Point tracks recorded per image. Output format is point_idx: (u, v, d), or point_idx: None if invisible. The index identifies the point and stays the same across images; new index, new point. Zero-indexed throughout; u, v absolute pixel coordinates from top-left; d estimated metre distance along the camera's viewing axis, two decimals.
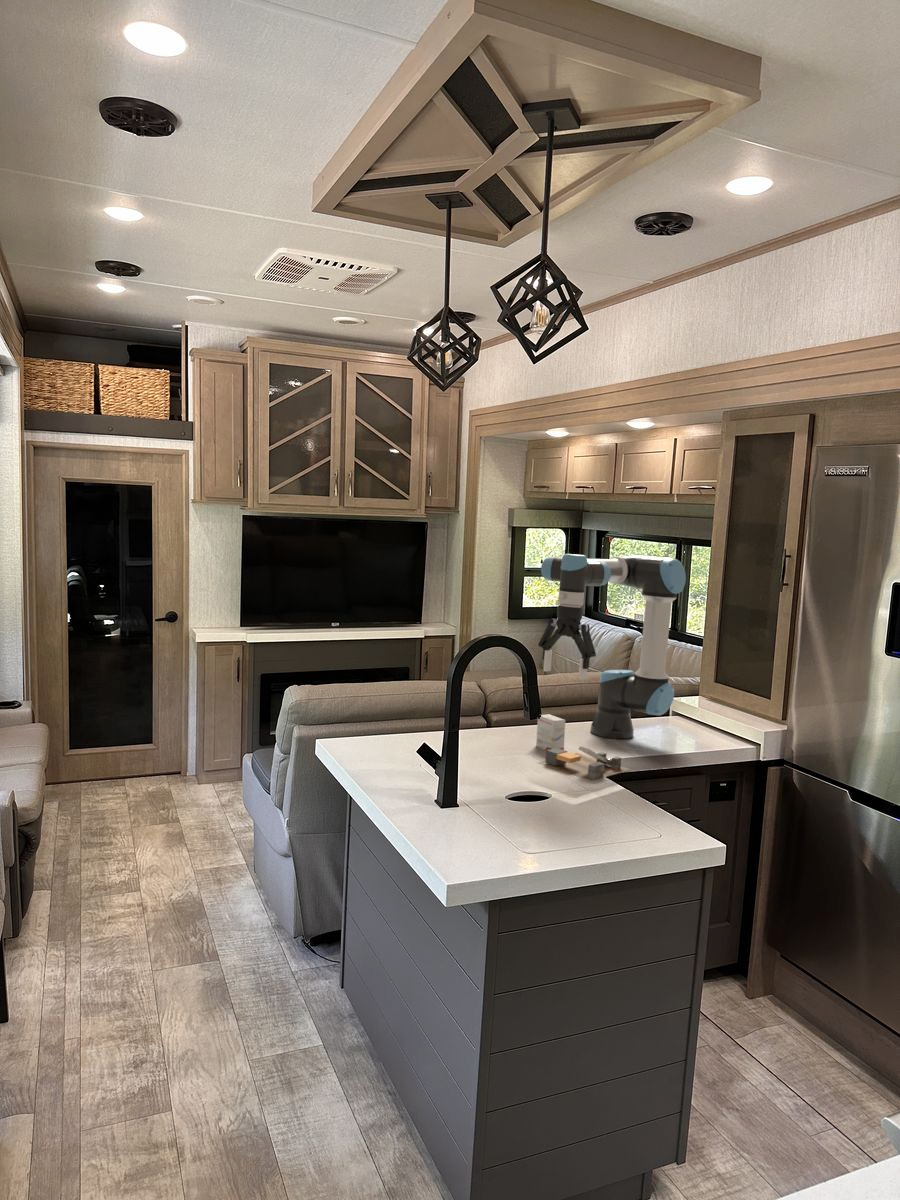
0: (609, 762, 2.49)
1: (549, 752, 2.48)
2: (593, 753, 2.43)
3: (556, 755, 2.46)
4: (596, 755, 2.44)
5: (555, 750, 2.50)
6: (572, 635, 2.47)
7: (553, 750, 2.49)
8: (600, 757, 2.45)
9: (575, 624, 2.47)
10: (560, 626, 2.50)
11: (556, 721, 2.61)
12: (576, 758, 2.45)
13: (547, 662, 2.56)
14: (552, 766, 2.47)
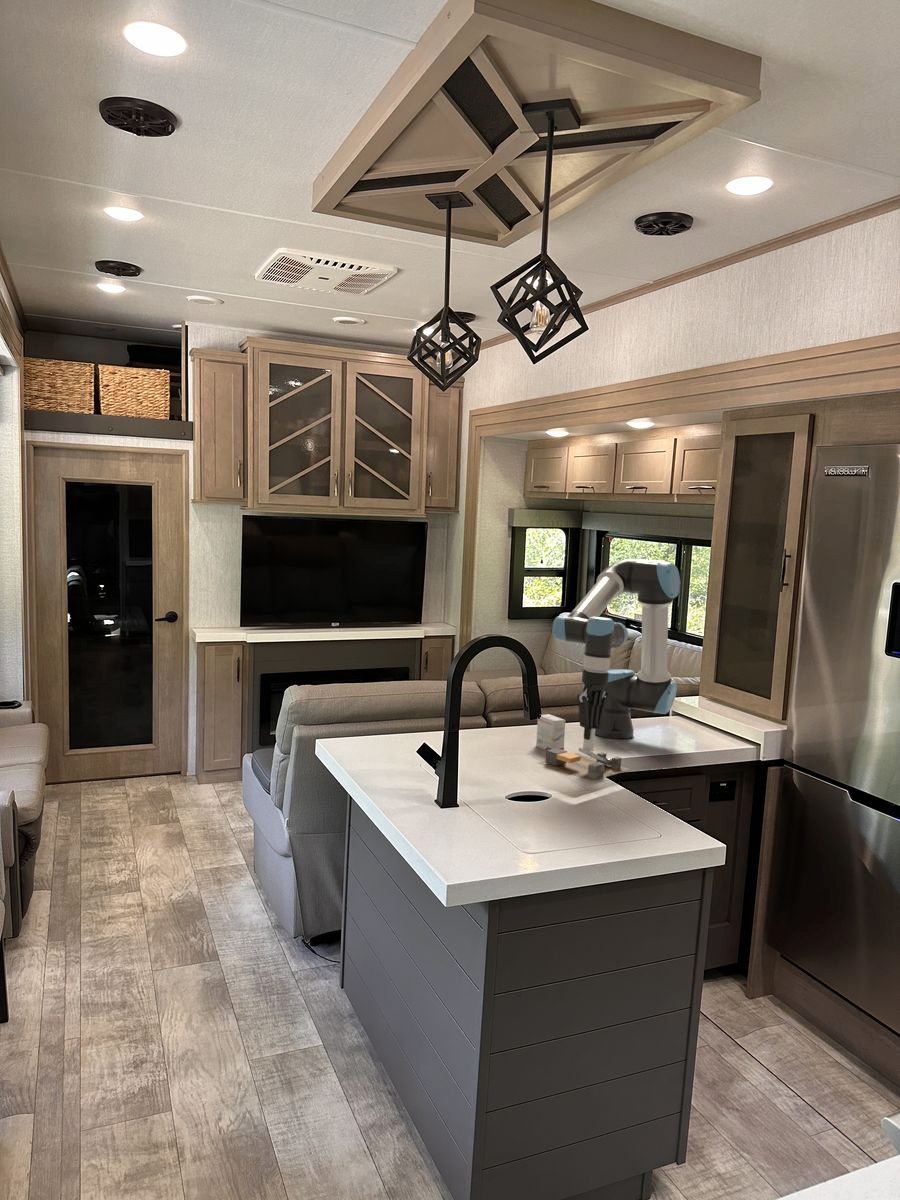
0: (609, 762, 2.49)
1: (549, 752, 2.48)
2: (593, 754, 2.43)
3: (556, 755, 2.46)
4: (596, 756, 2.44)
5: (555, 750, 2.50)
6: None
7: (553, 750, 2.49)
8: (600, 758, 2.45)
9: None
10: None
11: (556, 721, 2.61)
12: (576, 758, 2.45)
13: None
14: (552, 766, 2.47)
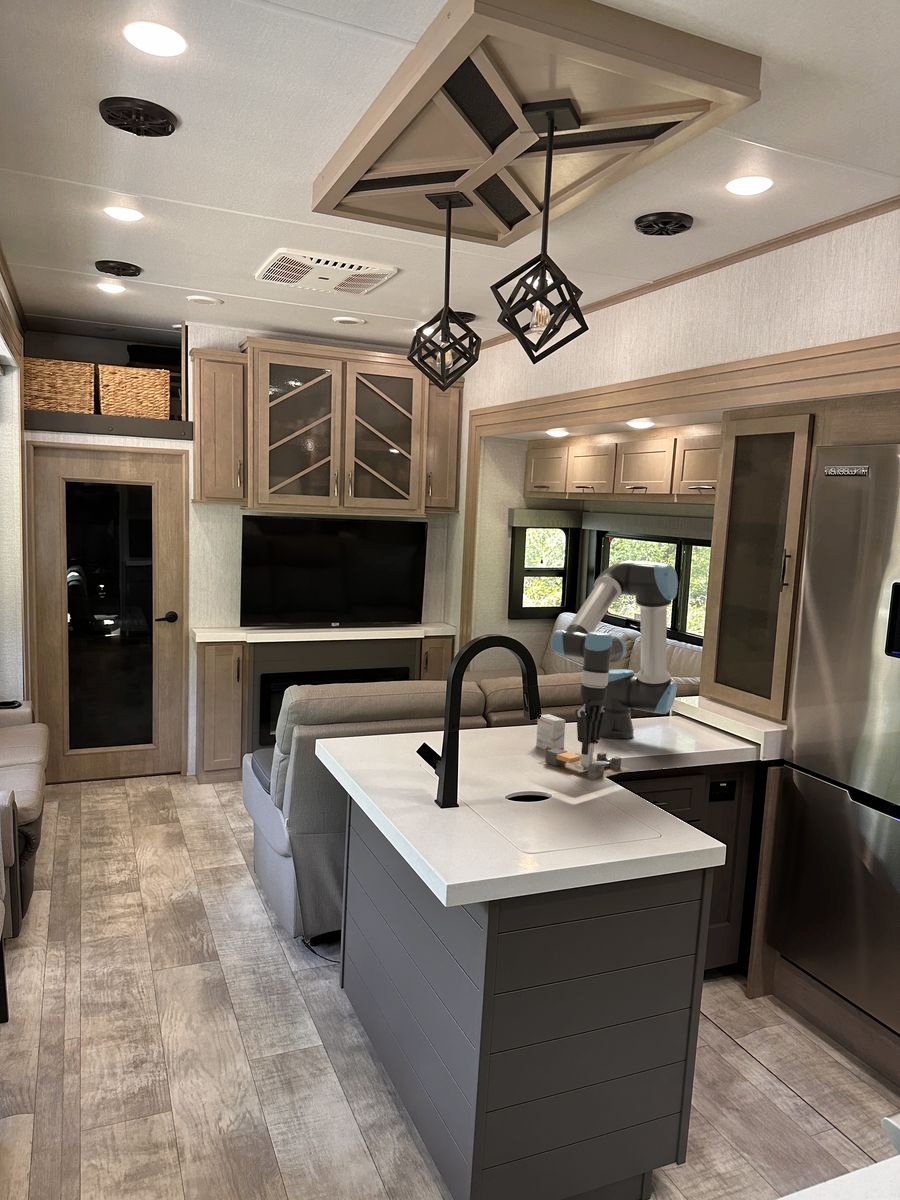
0: (609, 764, 2.49)
1: (549, 752, 2.48)
2: None
3: (556, 755, 2.46)
4: None
5: (555, 750, 2.50)
6: None
7: (553, 750, 2.49)
8: None
9: None
10: None
11: (556, 721, 2.61)
12: (576, 758, 2.45)
13: None
14: (552, 766, 2.47)
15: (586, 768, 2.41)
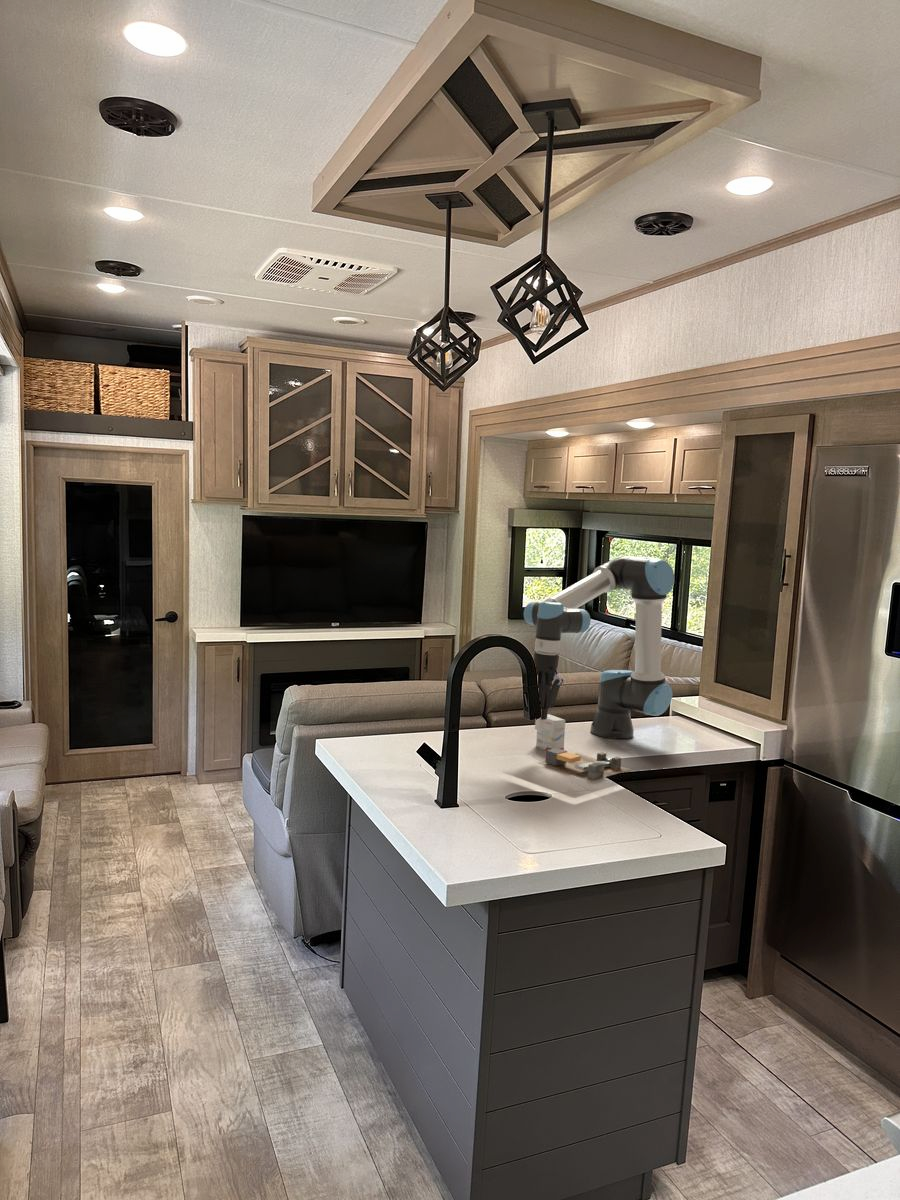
0: (609, 764, 2.49)
1: (549, 752, 2.48)
2: None
3: (556, 755, 2.46)
4: None
5: (555, 750, 2.50)
6: (543, 684, 2.50)
7: (553, 750, 2.49)
8: None
9: (552, 673, 2.49)
10: (537, 674, 2.52)
11: (556, 721, 2.61)
12: (576, 758, 2.45)
13: None
14: (552, 766, 2.47)
15: (586, 768, 2.41)
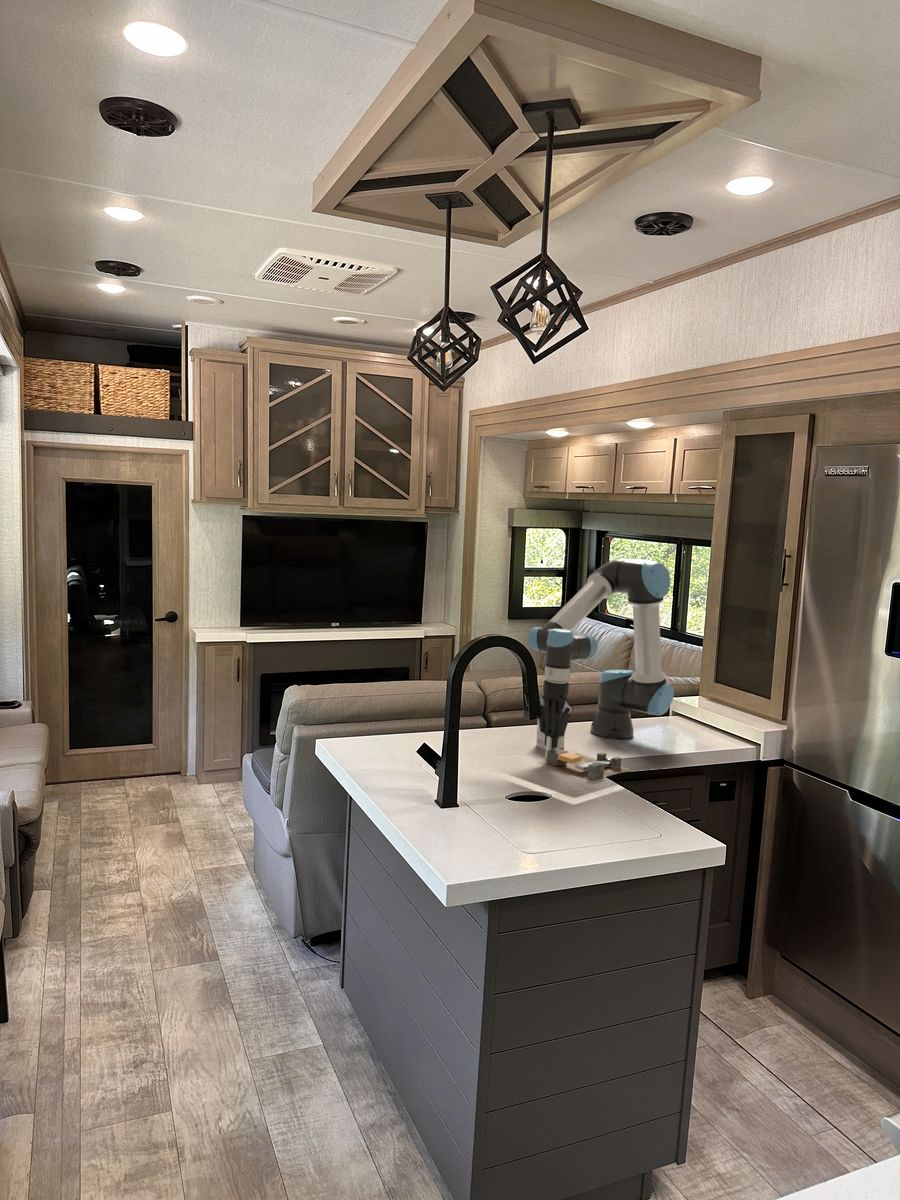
0: (609, 764, 2.49)
1: (550, 752, 2.48)
2: None
3: (557, 755, 2.46)
4: None
5: (556, 750, 2.49)
6: (553, 712, 2.48)
7: (554, 750, 2.49)
8: None
9: (562, 701, 2.46)
10: (546, 702, 2.49)
11: None
12: (577, 758, 2.44)
13: None
14: (552, 766, 2.47)
15: (586, 768, 2.41)
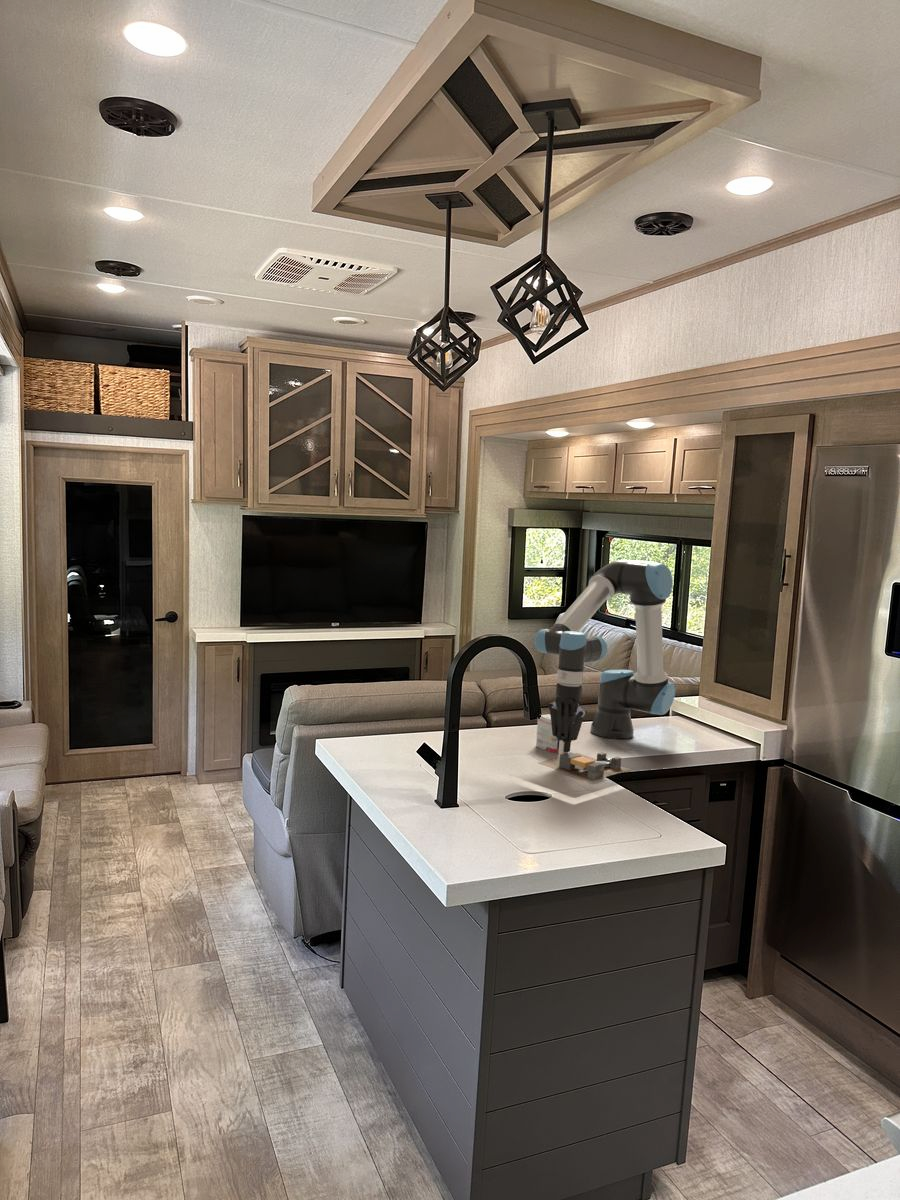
0: (609, 764, 2.49)
1: (563, 756, 2.44)
2: None
3: (570, 759, 2.43)
4: None
5: (569, 754, 2.46)
6: (566, 716, 2.44)
7: (567, 754, 2.46)
8: None
9: (575, 705, 2.43)
10: (559, 705, 2.46)
11: None
12: (590, 763, 2.41)
13: None
14: (552, 766, 2.47)
15: (586, 768, 2.41)
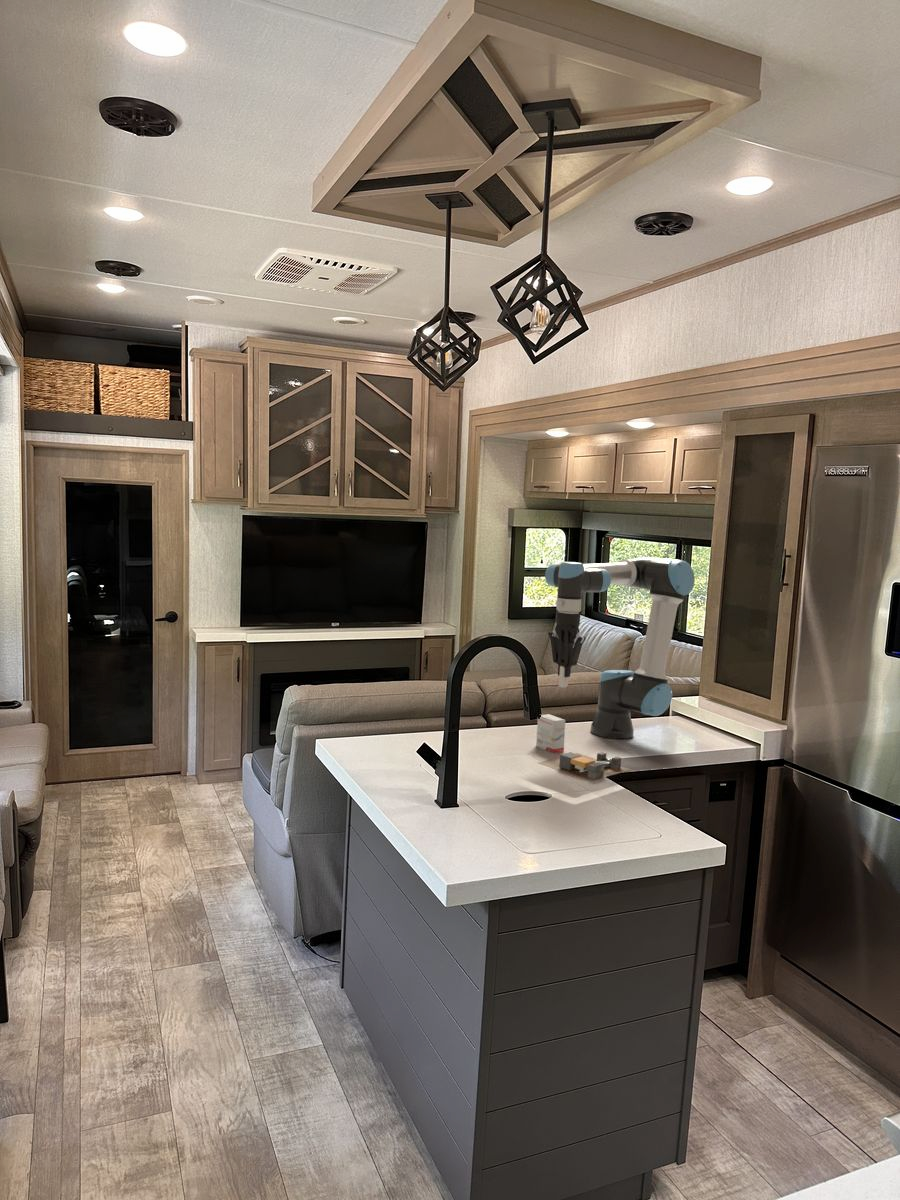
0: (609, 764, 2.49)
1: (563, 756, 2.44)
2: None
3: (570, 759, 2.43)
4: None
5: (569, 754, 2.46)
6: (566, 642, 2.56)
7: (567, 754, 2.46)
8: None
9: (574, 631, 2.54)
10: (559, 632, 2.57)
11: (556, 721, 2.61)
12: (590, 763, 2.41)
13: None
14: (552, 766, 2.47)
15: (586, 768, 2.41)
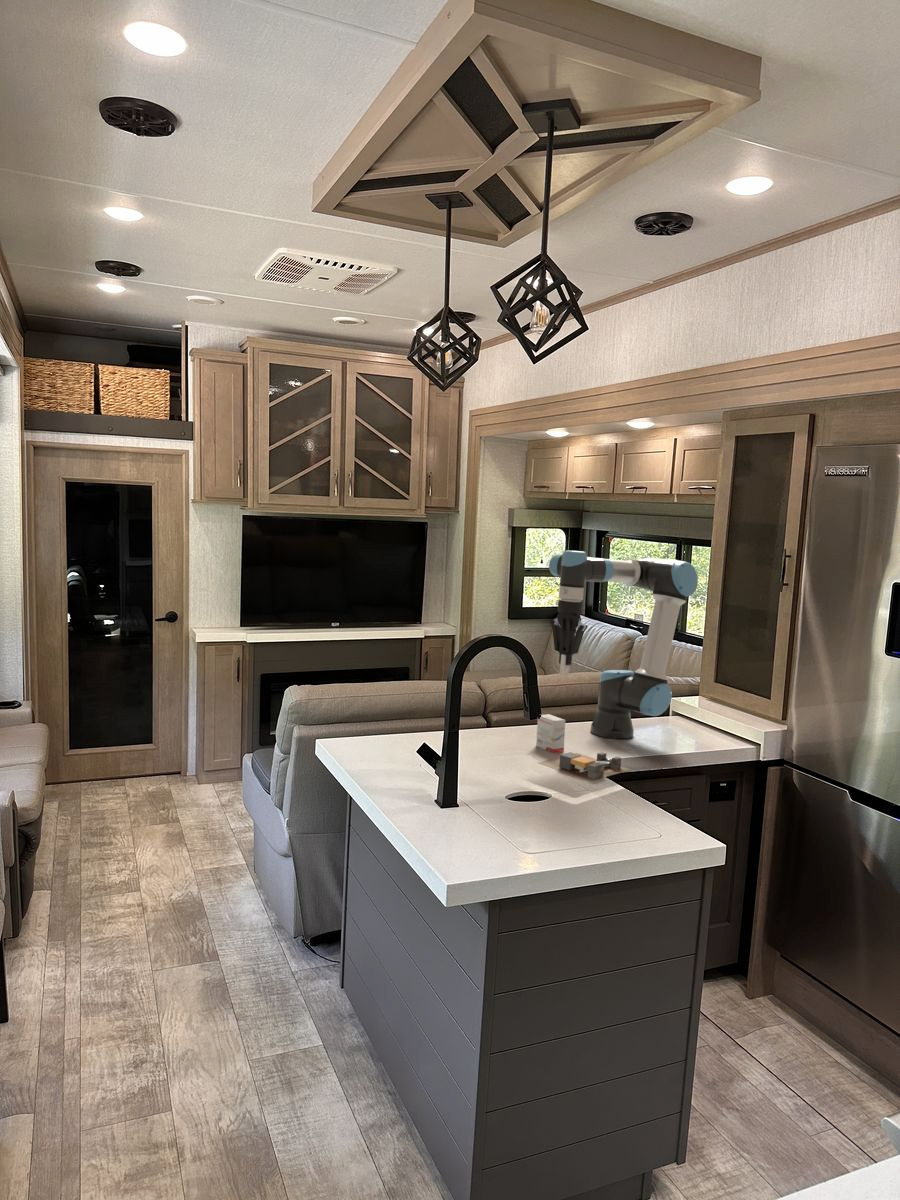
0: (609, 764, 2.49)
1: (563, 756, 2.44)
2: None
3: (570, 759, 2.43)
4: None
5: (569, 754, 2.46)
6: (568, 630, 2.57)
7: (567, 754, 2.46)
8: None
9: (576, 619, 2.56)
10: (561, 621, 2.59)
11: (556, 721, 2.61)
12: (590, 763, 2.41)
13: None
14: (552, 766, 2.47)
15: (586, 768, 2.41)
